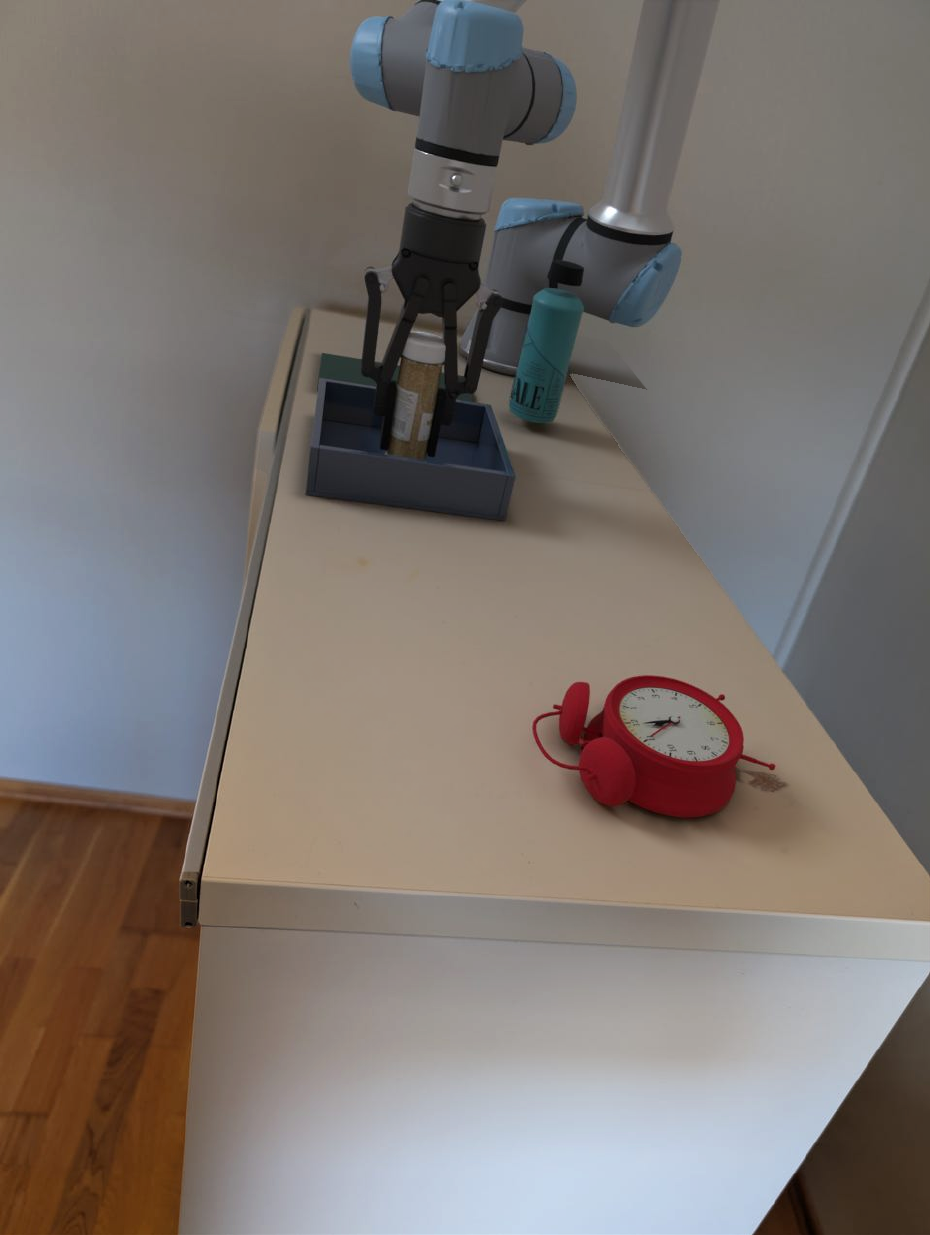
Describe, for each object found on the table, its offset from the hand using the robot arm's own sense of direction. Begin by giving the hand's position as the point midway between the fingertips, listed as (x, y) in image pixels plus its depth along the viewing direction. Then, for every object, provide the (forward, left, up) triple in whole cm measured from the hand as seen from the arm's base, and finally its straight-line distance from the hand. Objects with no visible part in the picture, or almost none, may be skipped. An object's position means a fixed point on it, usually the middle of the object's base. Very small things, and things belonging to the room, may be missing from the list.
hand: (406, 447), depth 90 cm
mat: (0, -26, -2) cm, 26 cm away
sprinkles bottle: (0, 0, -2) cm, 2 cm away
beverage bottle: (-17, -19, -2) cm, 26 cm away
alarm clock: (-14, +44, -2) cm, 46 cm away
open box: (0, 0, -2) cm, 2 cm away
